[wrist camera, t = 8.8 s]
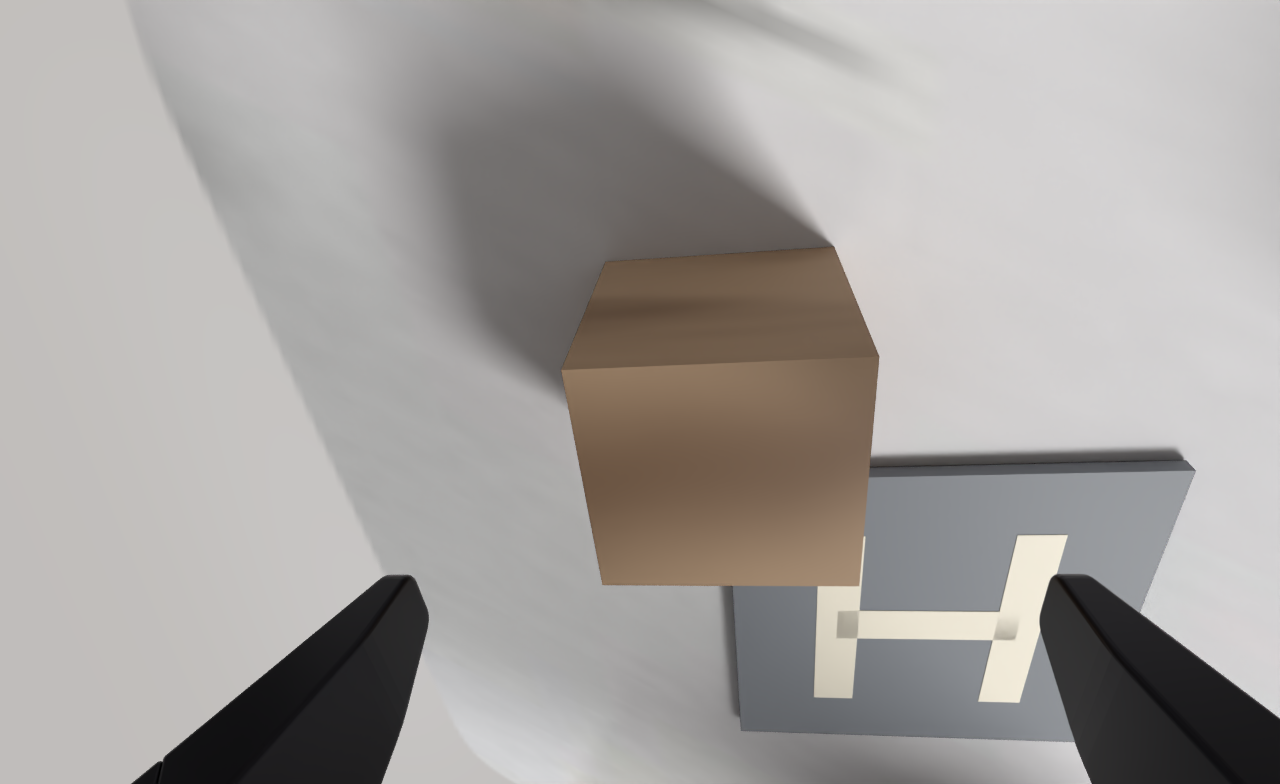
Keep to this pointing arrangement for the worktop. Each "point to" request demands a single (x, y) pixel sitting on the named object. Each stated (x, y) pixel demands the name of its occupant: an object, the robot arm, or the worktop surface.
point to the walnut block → (725, 419)
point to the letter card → (952, 600)
